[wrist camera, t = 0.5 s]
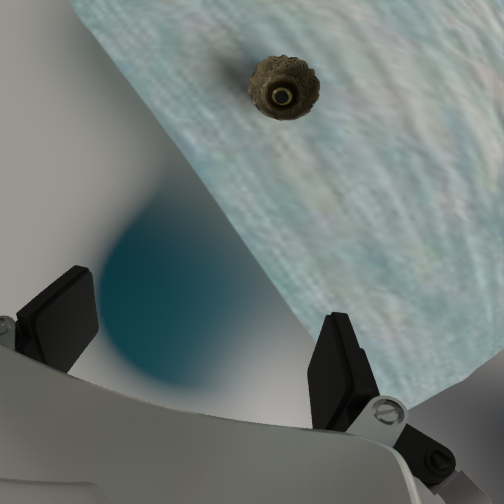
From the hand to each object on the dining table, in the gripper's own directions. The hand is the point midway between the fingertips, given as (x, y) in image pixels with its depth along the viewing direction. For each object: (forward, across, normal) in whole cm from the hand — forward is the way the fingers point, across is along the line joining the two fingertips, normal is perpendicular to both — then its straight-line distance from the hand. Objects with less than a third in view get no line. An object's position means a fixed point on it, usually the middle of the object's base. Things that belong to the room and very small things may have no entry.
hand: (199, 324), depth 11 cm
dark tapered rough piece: (+31, -2, -13) cm, 33 cm away
